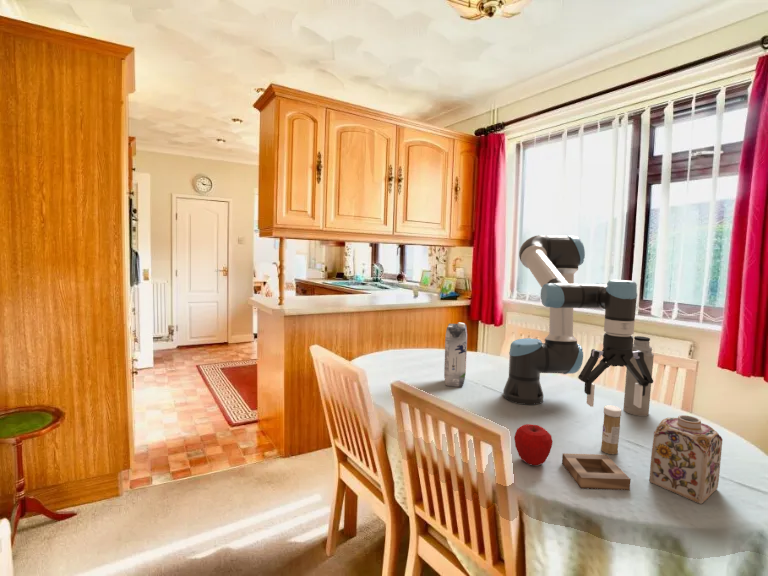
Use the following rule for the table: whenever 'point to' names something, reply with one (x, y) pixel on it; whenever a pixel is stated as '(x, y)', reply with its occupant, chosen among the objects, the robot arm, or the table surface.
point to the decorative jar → (686, 457)
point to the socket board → (595, 472)
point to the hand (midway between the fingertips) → (613, 405)
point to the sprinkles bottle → (611, 429)
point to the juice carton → (455, 354)
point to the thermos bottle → (629, 407)
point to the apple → (533, 444)
